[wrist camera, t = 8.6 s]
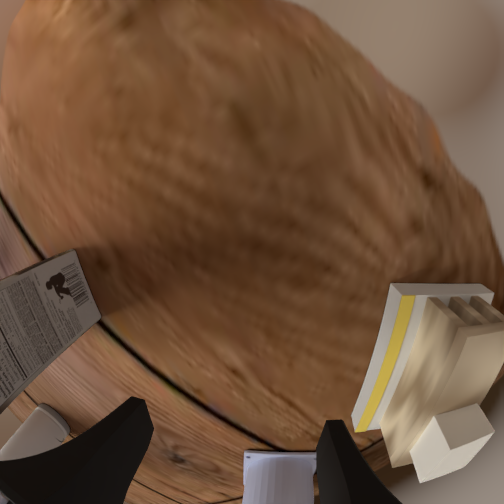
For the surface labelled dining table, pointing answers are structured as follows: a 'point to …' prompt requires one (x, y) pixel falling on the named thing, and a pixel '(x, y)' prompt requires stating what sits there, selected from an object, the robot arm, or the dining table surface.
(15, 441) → the travel mug
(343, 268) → the dining table surface
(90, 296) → the coffee box
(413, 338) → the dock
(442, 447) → the plain white block
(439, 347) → the slotted cream block
